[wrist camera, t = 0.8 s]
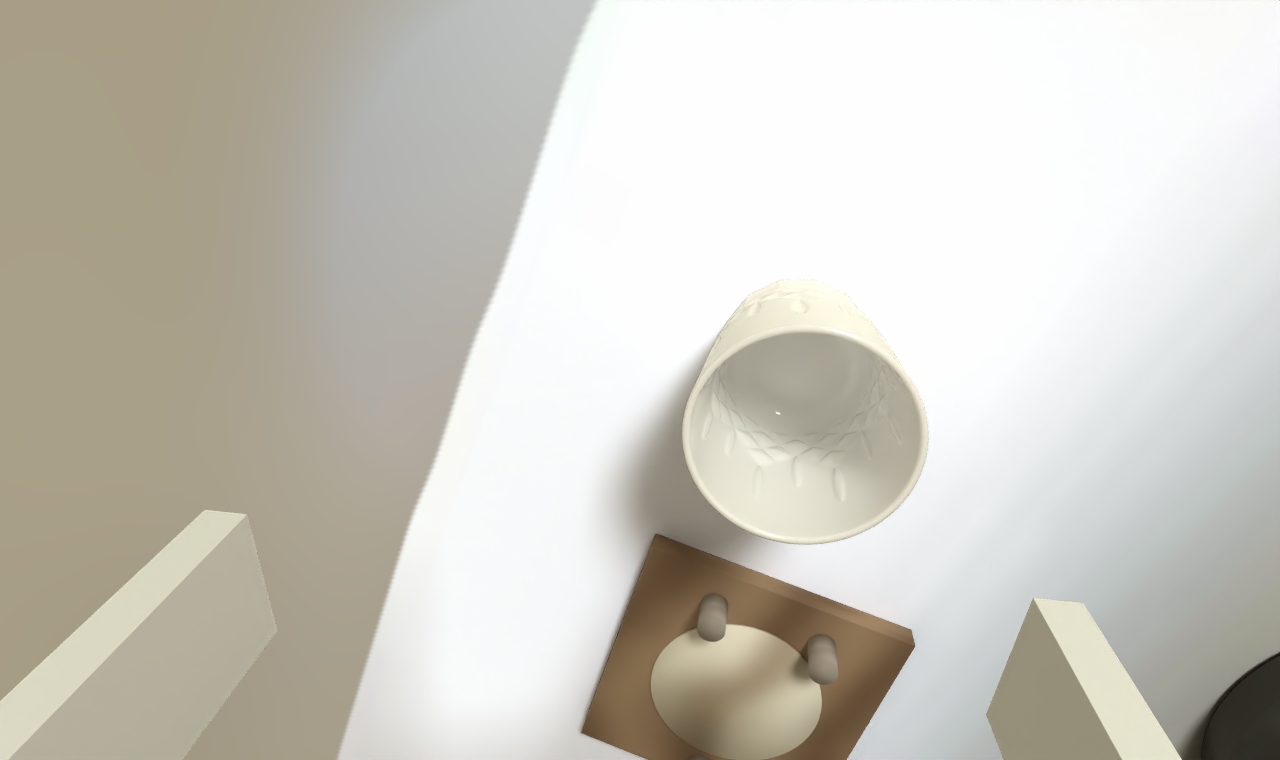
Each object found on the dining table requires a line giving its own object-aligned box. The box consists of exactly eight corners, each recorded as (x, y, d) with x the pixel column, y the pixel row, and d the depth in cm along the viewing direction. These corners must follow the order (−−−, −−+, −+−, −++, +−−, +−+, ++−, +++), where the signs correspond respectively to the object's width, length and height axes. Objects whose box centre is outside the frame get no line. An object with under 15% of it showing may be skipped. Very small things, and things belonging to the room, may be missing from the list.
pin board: (911, 629, 36) (922, 675, 33) (807, 804, 41) (809, 857, 38) (655, 533, 37) (644, 569, 34) (586, 716, 42) (571, 761, 39)
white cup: (683, 386, 34) (646, 486, 25) (754, 235, 31) (742, 285, 21) (833, 454, 34) (852, 580, 24) (919, 309, 30) (979, 391, 21)
